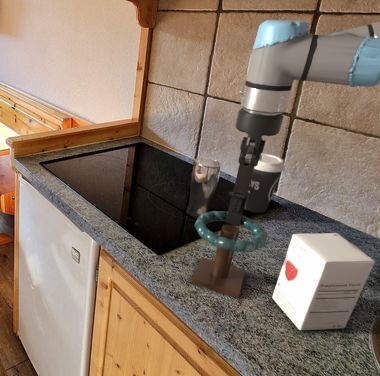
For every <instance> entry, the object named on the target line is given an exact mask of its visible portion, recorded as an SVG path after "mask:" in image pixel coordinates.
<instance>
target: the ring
mask: <svg viewBox="0 0 380 376" xmlns="http://www.w3.org/2000/svg"><path fill="white" fill-rule="evenodd" d="M227 214H228V211H225V210H223V211H222V210H221V211H219V210H218V211H216V210H211V211H209V212H208V213H205V214H202V215H200V216H199V217H196V218H197V219H196V221H195V223H194V228H195V230H196V232H197V233H198V235H199V236H200V238H201V239H203V240H204V241H206V242H208V243H209V244H211V245H212V246H214V247H216V248H217V247H220V248H223V249H227V250H230V251H234V253H237V252H238V253H253V252H255V251H257V250H260V249H261V248H264V247H265V246H266V244H267V238H268V233H267V232H266V230H264V227H262V226H261V225H260V224H259V223H258V222H257V221H254V220H253V219H251V218H249V217H247V216H245V215H244V214H243V215H242V218H241V222H240V226H241V227H243V228H244V229H247V230H249V231H250V232H251V233H252V234H253V236H254V238H252V239H250V240H237V241H234V240H231V239H227V238H223V237H220V235H218V234H216V233H215V232H213V231H211V230H210V229H209V228H208V227H207V224H208V223H211V222H226V218H227Z"/></svg>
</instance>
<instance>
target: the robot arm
mask: <svg viewBox="0 0 380 376" xmlns="http://www.w3.org/2000/svg"><path fill="white" fill-rule="evenodd" d="M309 28H310V24H309V23H308V21H306V20H292V19H291V20H290V19H267V20H264V21H263V22H262V23H260V24H259V26H258V30H257V33H256V36H255V40H254V44H253V46H252V51H251V55H250V60H249V64H248V70H247V73H246V78H245V83H244V84H245V85H244V89H240V90H239V95H240V96H242V98H241V101H240V106H241V108H240V109H239V110H238V112H237V117H236V121H235V129H237V130H238V131H239V132H242V133H245V134H246V135H247V136H243V137H242V140H241V142H240V145H239V149H240V152H239V156H238V160H237V162H238V163H239V165H238V170H237V174H236V177H235V180H234V181H235V182H234V186H233V189H232V191H228V196H230V197H231V198H230V201H229V205H228V210H227V212H228V214H227V218H226V221H224V223H225V225H233V226H235V227H237V228H239V227H240V226H241V225H240V222H241V218H242V215H243V216H244V212H245V209H244V208H245V204H246V200H247V196H248V193H249V192H248V191H252V190H253V187H250V184H251V182H252V181H251V179H252V175H253V171H254V167H255V166H257V165H258V162H259V159H260V155H261V153H264V148H265V146H266V145H265V144H266V141H267V140H265V139H263V137H265V136H266V137H273V136H276V135H278V134H279V133H280V131H281V127H282V124H283V121H284V115H283V113H284V112H286V111H287V107H288V103H289V100H290V96H291V94H292V87H293V84H294V81H301V82H314V83H323V84H332V85H341V86H350V88H356V87H363V88H364V87H367V88H369V87H370V88H373V87H376V86H378V85H379V84H380V21H375V22H372V23H370V24H365V25H361V26H357V27H353V28H349V29H344V30H342V29H341V30H340V29H339V30H334V31H332V32H329V33H326V34H325V35H323V34H315V33H309V32H310V30H309Z"/></svg>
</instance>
